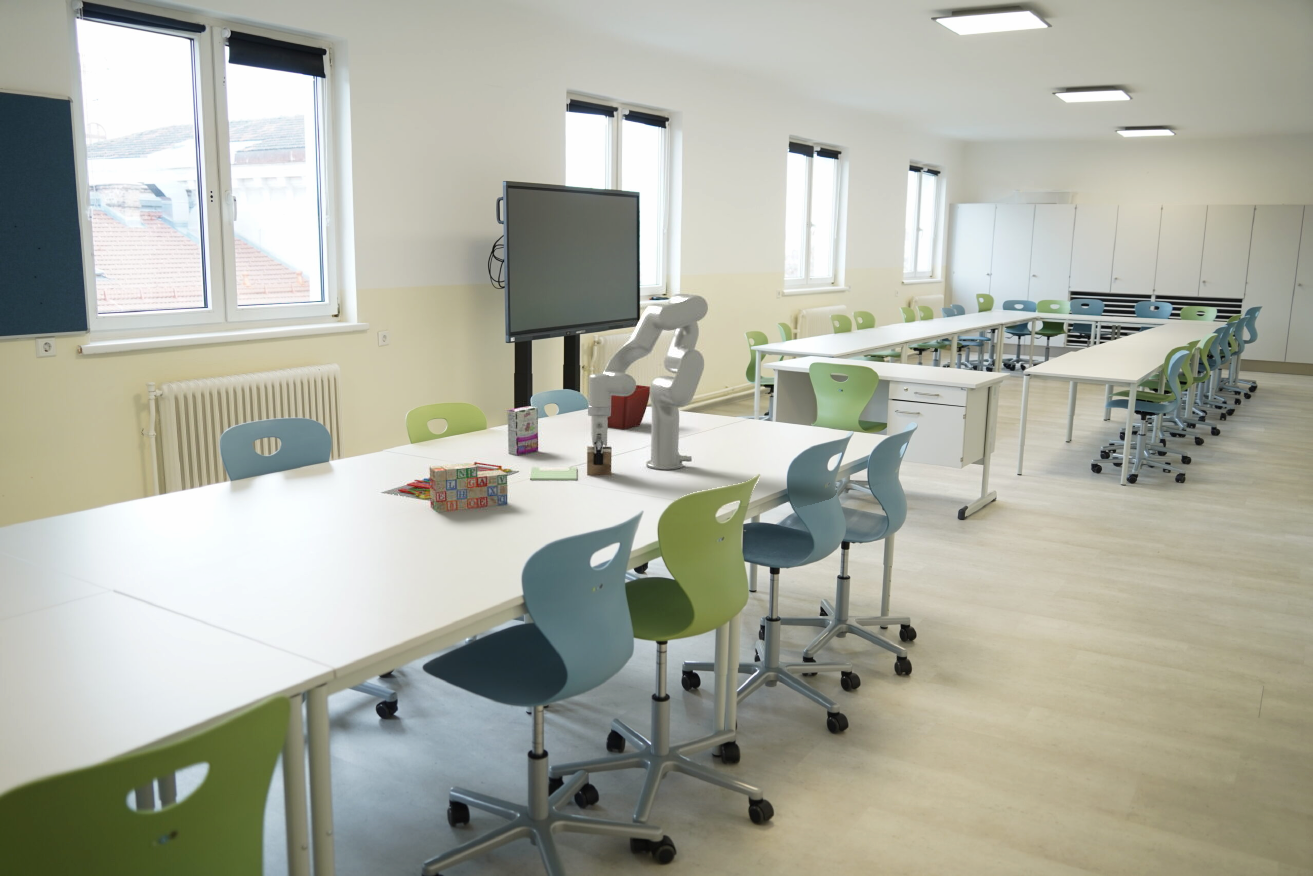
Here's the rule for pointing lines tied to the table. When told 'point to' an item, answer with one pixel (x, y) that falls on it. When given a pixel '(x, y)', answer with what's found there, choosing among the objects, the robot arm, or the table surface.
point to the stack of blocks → (466, 487)
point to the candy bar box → (522, 430)
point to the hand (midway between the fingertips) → (597, 461)
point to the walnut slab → (599, 469)
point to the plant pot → (629, 408)
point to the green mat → (553, 473)
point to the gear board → (423, 486)
